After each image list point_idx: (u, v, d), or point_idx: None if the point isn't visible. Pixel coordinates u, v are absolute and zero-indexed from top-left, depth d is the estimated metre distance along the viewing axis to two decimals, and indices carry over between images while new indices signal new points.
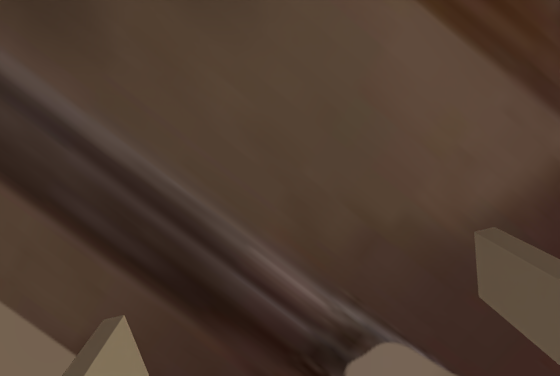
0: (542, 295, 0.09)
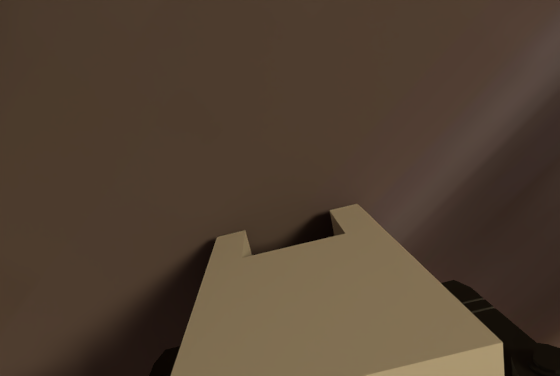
0: None
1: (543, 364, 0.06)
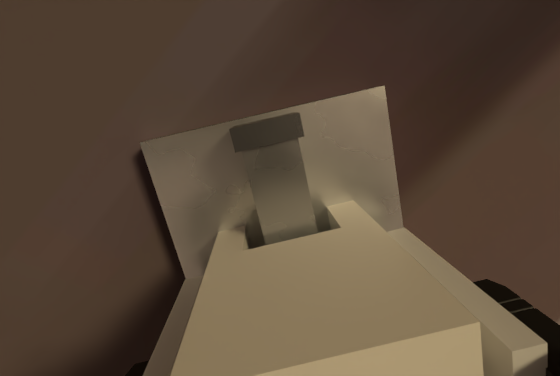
0: None
1: None
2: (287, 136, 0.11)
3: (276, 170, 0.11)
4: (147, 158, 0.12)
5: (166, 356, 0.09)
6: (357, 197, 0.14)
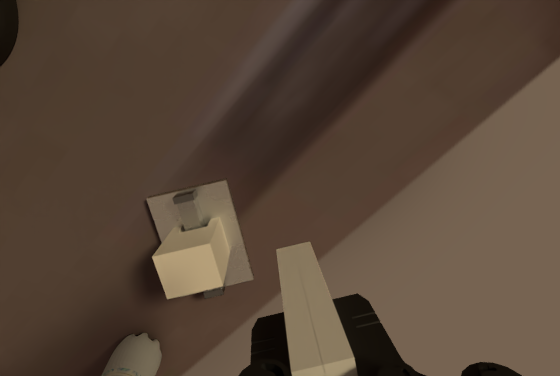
0: None
1: None
2: (189, 199, 0.36)
3: (187, 209, 0.37)
4: (148, 203, 0.38)
5: (299, 306, 0.09)
6: (221, 216, 0.39)
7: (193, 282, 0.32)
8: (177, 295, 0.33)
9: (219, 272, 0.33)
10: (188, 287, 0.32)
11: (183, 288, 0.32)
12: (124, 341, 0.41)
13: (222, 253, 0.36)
